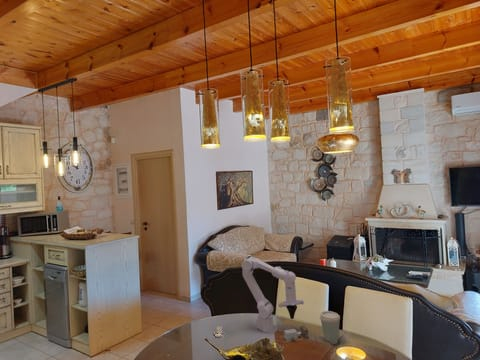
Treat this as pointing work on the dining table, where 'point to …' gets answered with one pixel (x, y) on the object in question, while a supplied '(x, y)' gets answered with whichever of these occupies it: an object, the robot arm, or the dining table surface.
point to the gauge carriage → (291, 334)
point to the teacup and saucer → (219, 332)
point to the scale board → (304, 334)
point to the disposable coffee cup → (330, 326)
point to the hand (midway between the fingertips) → (292, 318)
